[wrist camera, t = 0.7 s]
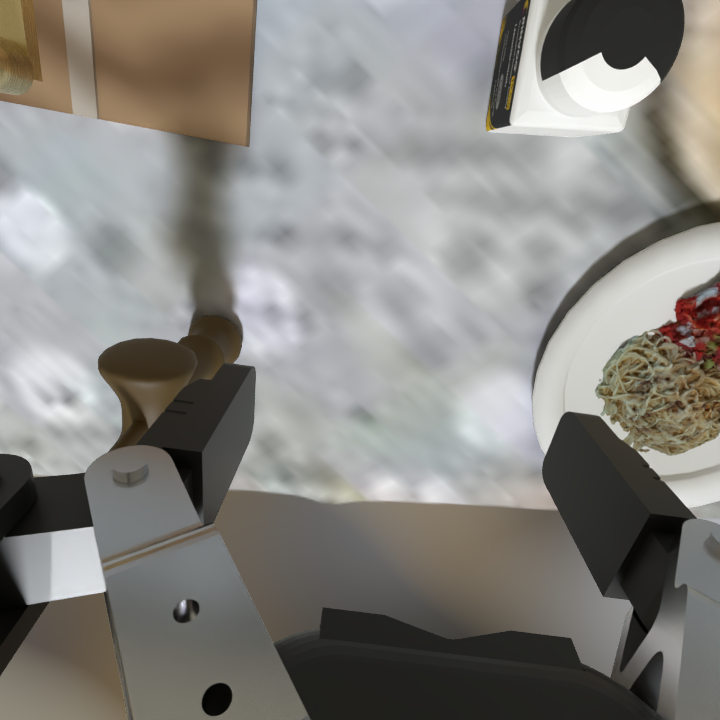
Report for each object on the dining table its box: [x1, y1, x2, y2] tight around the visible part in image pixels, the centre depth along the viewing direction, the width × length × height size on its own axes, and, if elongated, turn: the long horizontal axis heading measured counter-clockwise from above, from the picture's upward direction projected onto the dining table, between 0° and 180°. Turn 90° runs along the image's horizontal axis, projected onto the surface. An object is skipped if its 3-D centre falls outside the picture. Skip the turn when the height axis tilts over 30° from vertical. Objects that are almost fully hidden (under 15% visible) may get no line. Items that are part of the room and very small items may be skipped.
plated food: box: [532, 222, 720, 508], centre depth 40 cm, size 30×30×3 cm
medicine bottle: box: [486, 0, 684, 137], centre depth 26 cm, size 7×7×12 cm
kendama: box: [98, 315, 242, 452], centre depth 32 cm, size 6×10×20 cm, turn 168°
